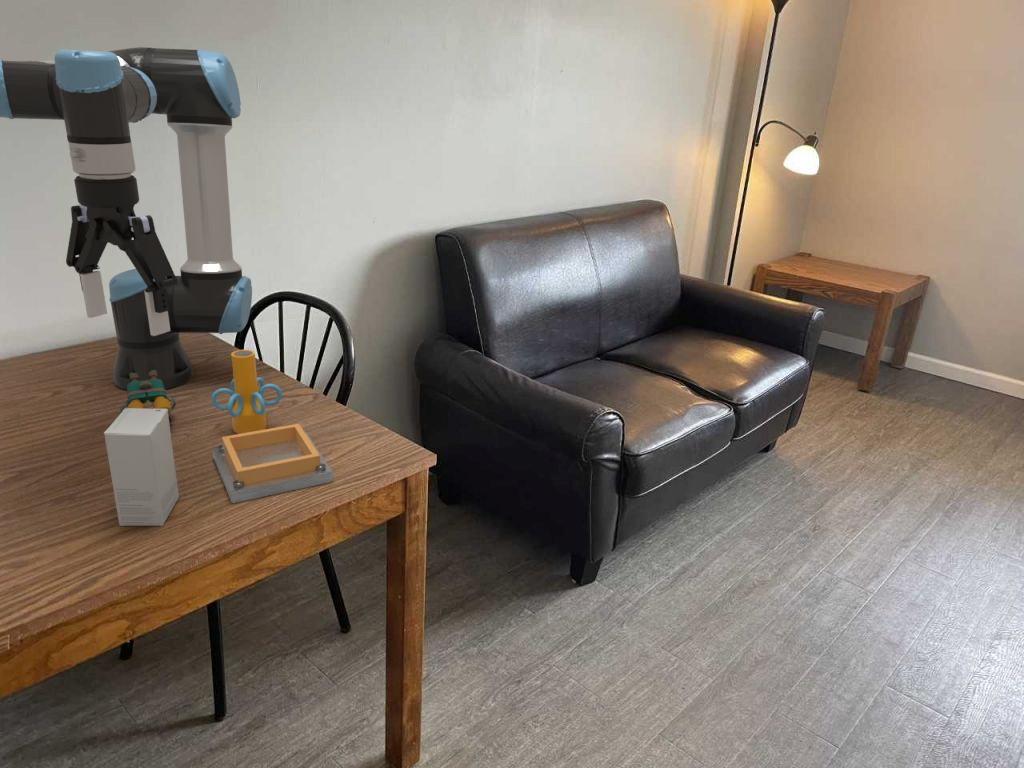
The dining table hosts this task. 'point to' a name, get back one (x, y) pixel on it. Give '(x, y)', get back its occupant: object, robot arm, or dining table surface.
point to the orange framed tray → (272, 486)
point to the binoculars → (148, 393)
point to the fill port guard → (276, 467)
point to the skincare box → (142, 466)
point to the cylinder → (246, 394)
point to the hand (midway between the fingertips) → (128, 324)
